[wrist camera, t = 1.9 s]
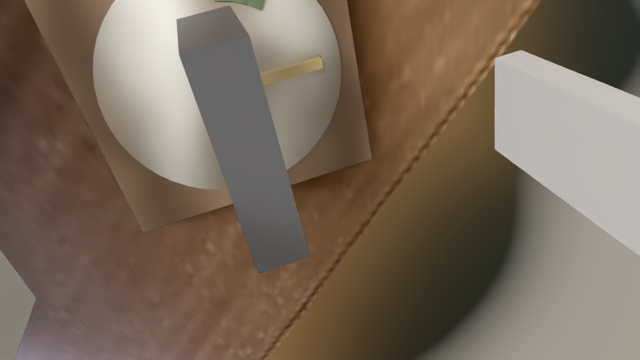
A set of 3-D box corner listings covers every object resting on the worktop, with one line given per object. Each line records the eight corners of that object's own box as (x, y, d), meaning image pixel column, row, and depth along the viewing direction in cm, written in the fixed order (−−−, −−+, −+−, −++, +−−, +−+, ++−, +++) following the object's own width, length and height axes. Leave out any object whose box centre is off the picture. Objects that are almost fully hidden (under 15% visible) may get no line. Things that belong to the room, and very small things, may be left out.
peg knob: (231, 164, 30) (258, 273, 21) (175, 1, 24) (179, 55, 16) (332, 133, 31) (400, 225, 22) (299, -31, 25) (371, 2, 16)
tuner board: (145, 200, 34) (142, 235, 31) (-36, -172, 22) (-75, -188, 19) (353, 136, 36) (373, 161, 33) (287, -236, 24) (307, -262, 21)
